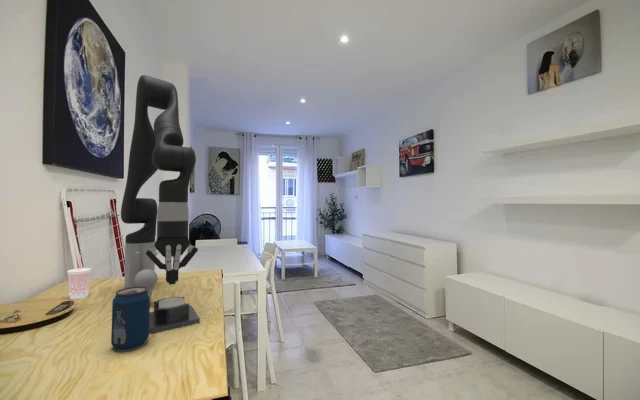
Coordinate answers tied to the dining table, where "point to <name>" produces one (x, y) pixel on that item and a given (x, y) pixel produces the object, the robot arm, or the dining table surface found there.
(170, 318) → the ball socket plate
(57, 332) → the dining table surface
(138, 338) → the soda can
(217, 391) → the dining table surface
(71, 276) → the beverage cup
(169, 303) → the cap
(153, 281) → the lightbulb
